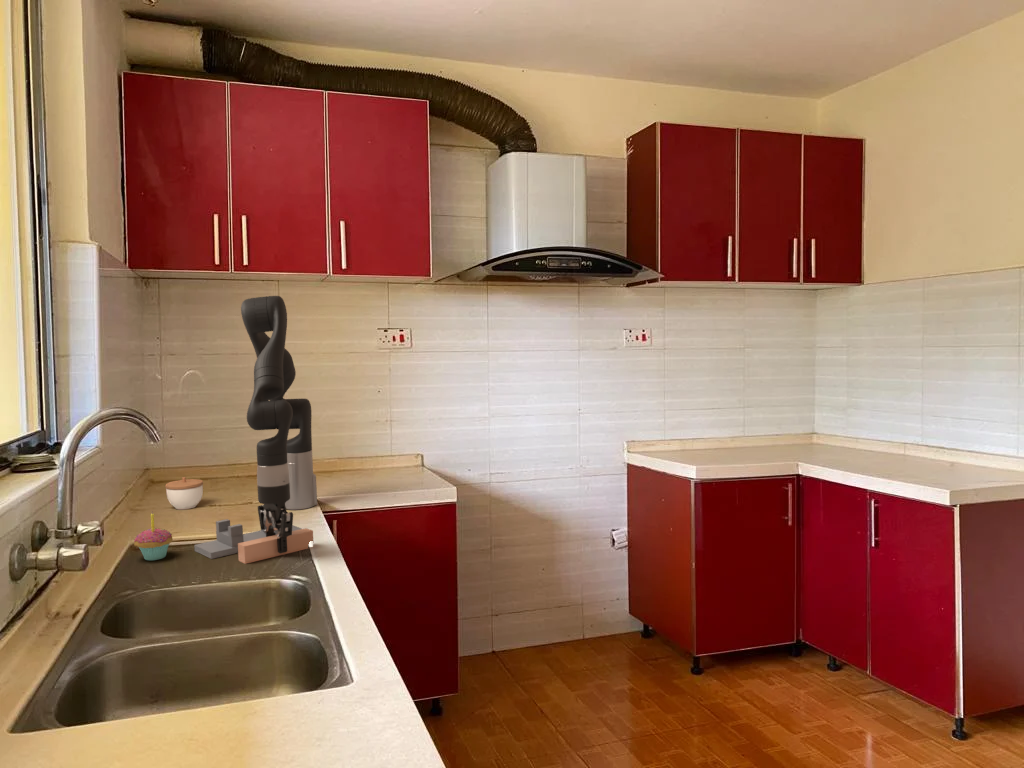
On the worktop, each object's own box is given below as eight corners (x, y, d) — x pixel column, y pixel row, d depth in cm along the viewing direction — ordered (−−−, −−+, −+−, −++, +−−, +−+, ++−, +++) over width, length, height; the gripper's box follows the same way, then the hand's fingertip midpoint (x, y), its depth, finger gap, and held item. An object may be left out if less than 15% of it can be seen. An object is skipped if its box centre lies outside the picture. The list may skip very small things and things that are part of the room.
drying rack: (289, 529, 213) (288, 506, 212) (308, 536, 206) (307, 512, 205) (194, 550, 195) (193, 525, 194) (211, 559, 188) (209, 532, 187)
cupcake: (175, 559, 188) (172, 510, 187) (136, 565, 184) (133, 515, 183) (171, 550, 196) (168, 503, 195) (134, 556, 192) (130, 508, 191)
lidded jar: (210, 506, 242) (208, 476, 241) (175, 513, 234) (173, 482, 233) (195, 501, 249) (194, 472, 249) (161, 507, 242) (159, 477, 241)
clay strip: (306, 545, 198) (305, 528, 198) (313, 548, 196) (312, 530, 196) (238, 561, 186) (237, 543, 186) (245, 564, 184) (244, 546, 183)
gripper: (302, 483, 187) (305, 552, 188) (273, 475, 197) (277, 541, 199) (273, 488, 182) (276, 559, 183) (245, 480, 192) (249, 547, 193)
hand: (276, 549), depth 191 cm, fingers open, 5 cm apart
